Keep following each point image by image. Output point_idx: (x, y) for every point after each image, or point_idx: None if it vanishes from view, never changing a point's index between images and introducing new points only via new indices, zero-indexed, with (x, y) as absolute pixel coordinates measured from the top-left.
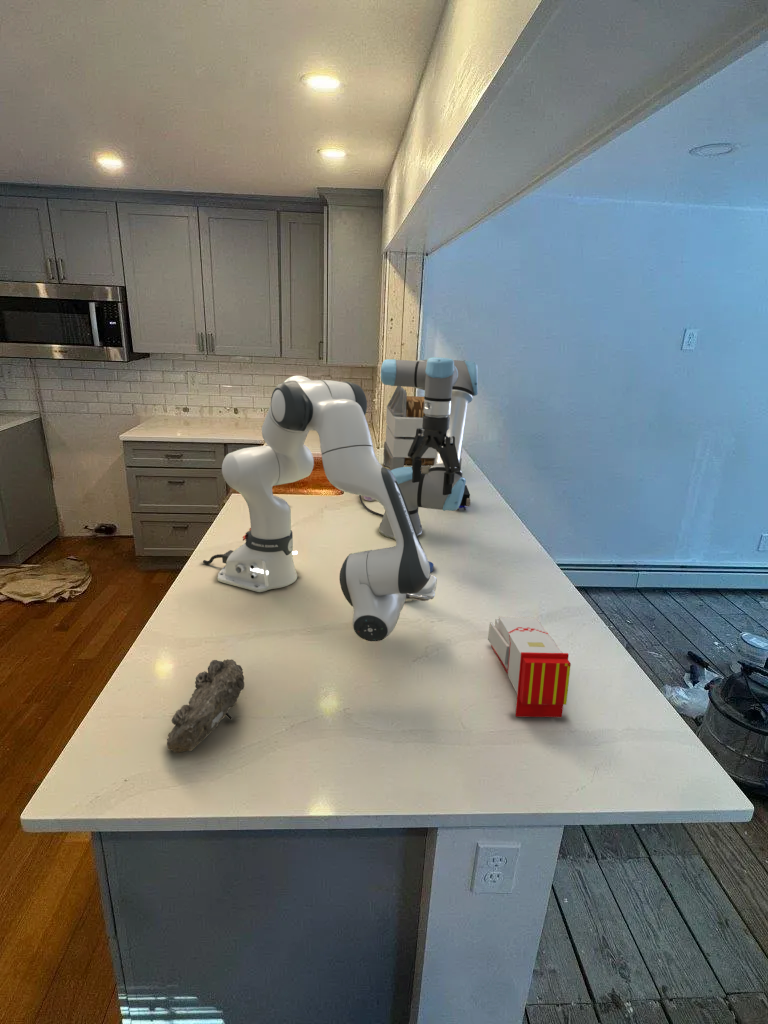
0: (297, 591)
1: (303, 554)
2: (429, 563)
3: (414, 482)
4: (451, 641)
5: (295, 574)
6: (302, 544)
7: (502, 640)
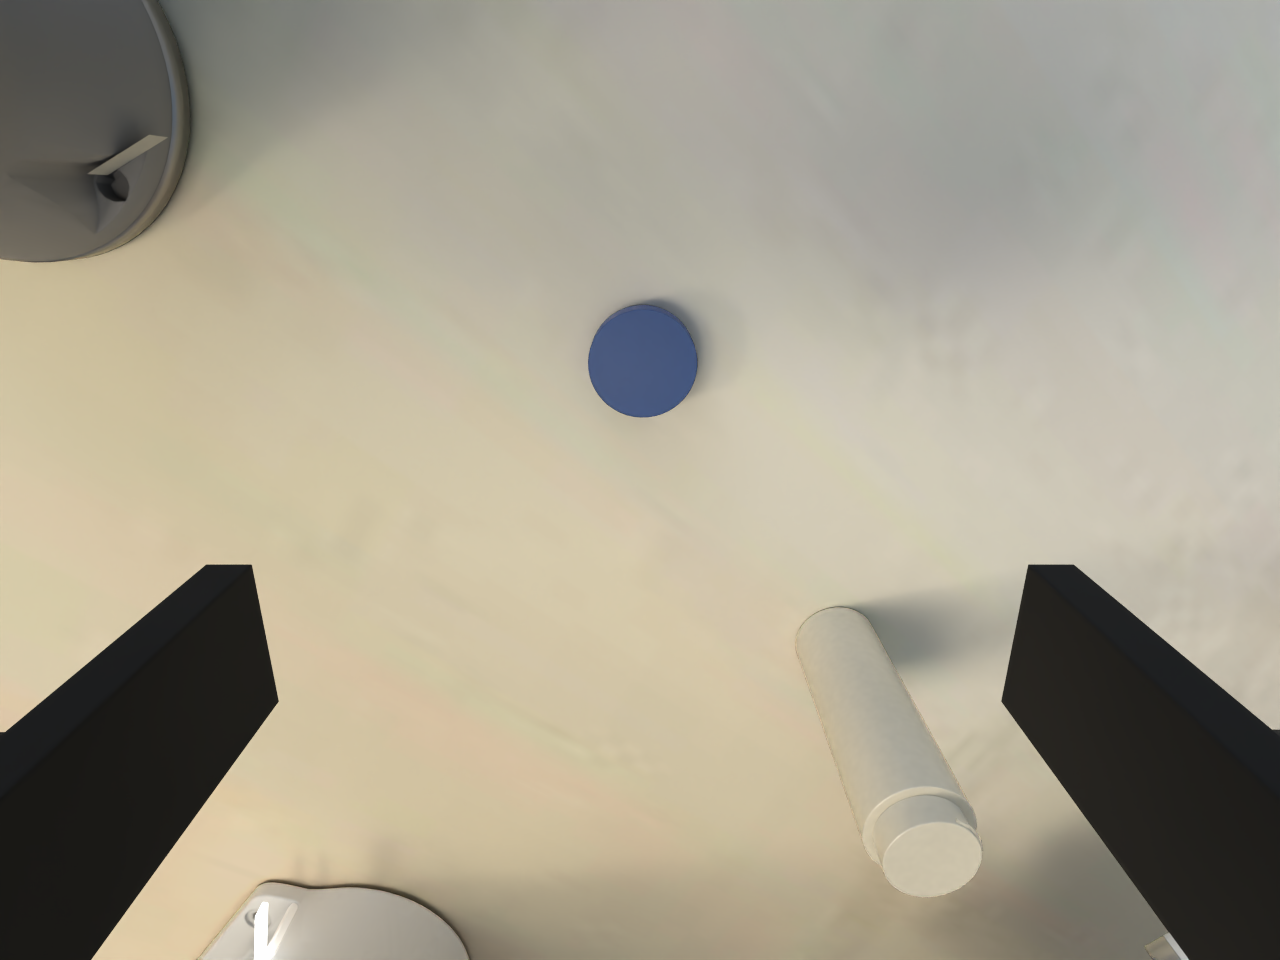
0: (526, 938)
1: None
2: (649, 332)
3: (275, 687)
4: None
5: (416, 927)
6: None
7: None
